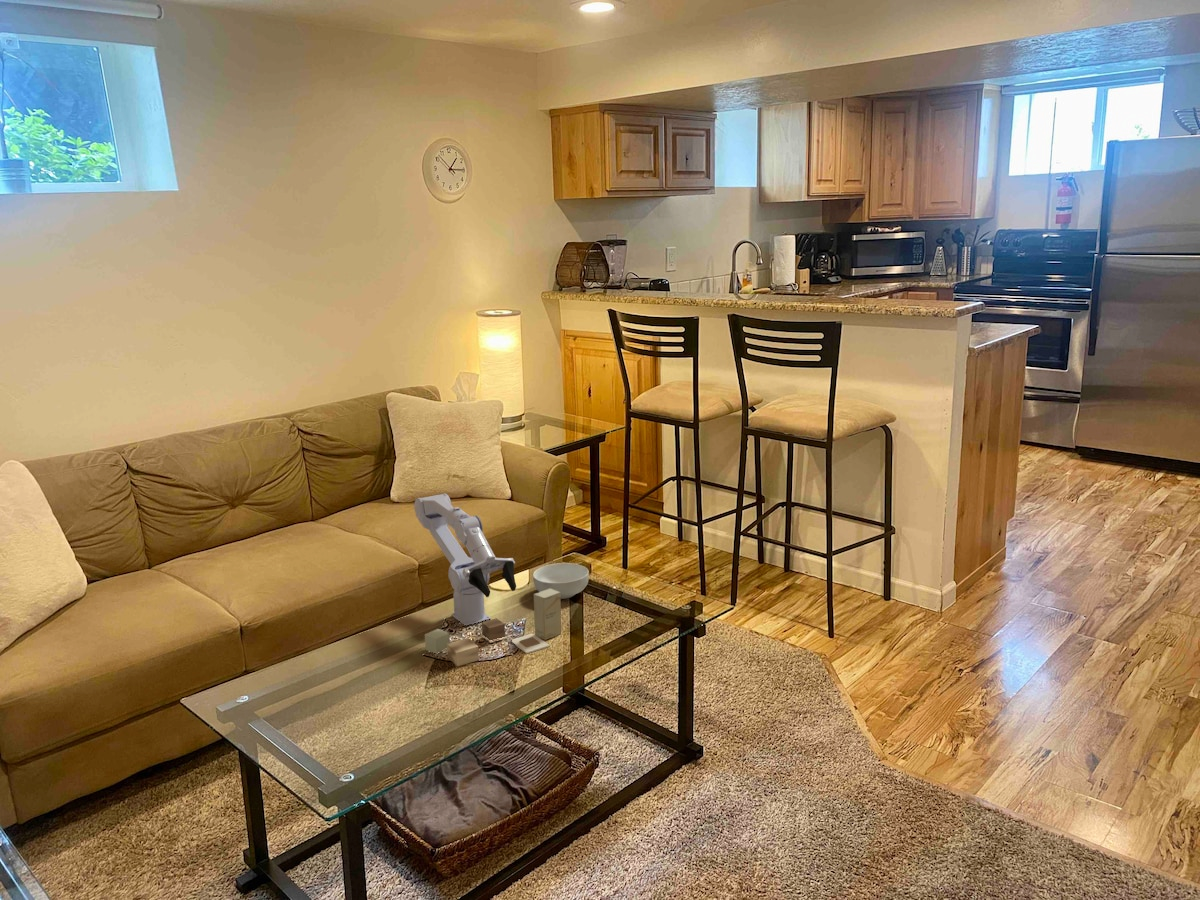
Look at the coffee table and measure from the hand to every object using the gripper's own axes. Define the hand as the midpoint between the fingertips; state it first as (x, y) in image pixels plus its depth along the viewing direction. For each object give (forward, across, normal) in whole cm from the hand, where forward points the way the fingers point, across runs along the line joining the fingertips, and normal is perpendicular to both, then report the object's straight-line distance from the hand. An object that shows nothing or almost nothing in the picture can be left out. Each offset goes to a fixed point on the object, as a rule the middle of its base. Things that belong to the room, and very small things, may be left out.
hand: (501, 591), depth 232 cm
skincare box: (+10, +13, +12) cm, 20 cm away
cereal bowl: (-9, +31, +23) cm, 40 cm away
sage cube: (+2, -15, +17) cm, 23 cm away
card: (+11, +6, +10) cm, 16 cm away
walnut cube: (+4, 0, +15) cm, 16 cm away
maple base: (+9, -12, +12) cm, 20 cm away
